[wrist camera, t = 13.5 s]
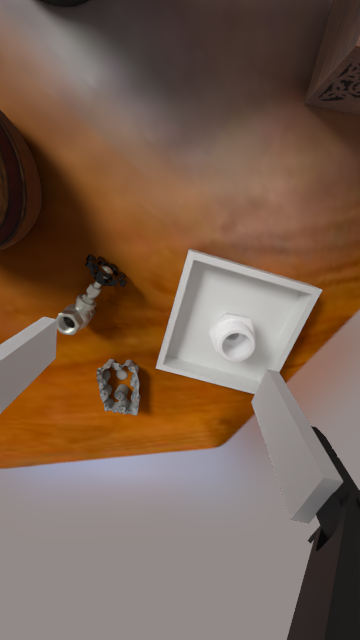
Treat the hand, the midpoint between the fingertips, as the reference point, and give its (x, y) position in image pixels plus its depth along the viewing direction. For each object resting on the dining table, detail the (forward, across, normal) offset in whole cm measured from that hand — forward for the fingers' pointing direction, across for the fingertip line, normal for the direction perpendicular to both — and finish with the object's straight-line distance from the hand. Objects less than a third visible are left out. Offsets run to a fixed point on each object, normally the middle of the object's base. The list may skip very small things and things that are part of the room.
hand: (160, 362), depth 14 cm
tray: (+25, +10, -6) cm, 27 cm away
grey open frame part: (+25, -6, -23) cm, 34 cm away
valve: (+25, -13, -6) cm, 29 cm away
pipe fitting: (+24, +10, -6) cm, 27 cm away
